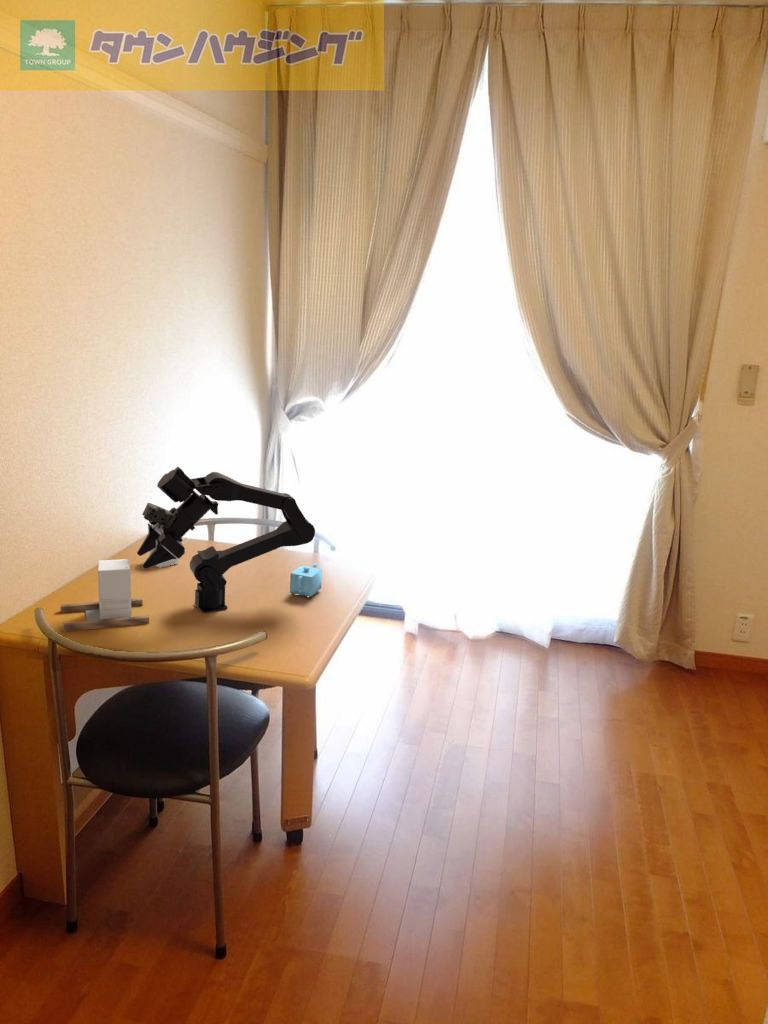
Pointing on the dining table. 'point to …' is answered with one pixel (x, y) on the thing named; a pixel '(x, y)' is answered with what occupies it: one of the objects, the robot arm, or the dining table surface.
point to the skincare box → (167, 563)
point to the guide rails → (94, 617)
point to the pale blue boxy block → (306, 580)
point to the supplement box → (114, 588)
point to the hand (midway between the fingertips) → (141, 560)
